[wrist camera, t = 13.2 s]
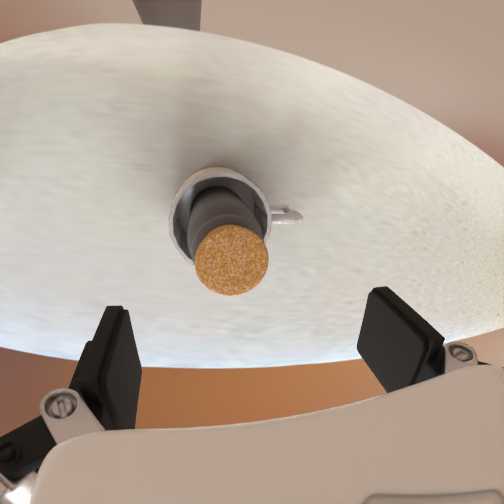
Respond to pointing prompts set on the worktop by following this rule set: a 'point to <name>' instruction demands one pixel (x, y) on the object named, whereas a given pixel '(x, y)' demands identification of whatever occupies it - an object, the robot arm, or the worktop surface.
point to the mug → (237, 184)
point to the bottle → (225, 242)
